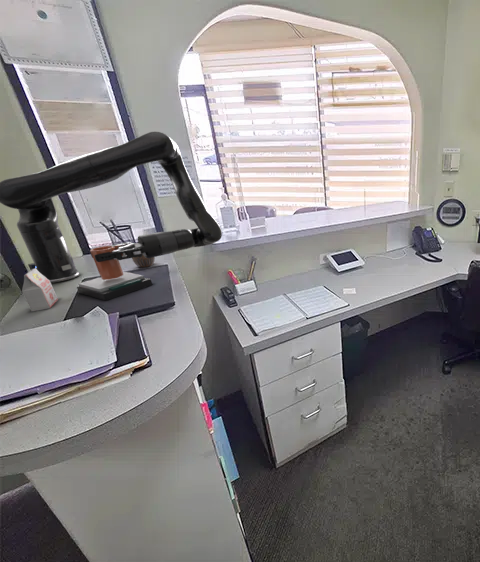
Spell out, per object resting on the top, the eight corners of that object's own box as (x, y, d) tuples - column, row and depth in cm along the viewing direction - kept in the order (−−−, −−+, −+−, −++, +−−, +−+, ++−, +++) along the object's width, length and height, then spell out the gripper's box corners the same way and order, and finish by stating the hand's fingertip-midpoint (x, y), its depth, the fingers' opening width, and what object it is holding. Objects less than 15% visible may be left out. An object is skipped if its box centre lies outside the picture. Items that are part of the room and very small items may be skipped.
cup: (97, 278, 94) (86, 249, 91) (117, 272, 99) (107, 245, 95) (107, 280, 92) (96, 251, 88) (127, 274, 96) (117, 246, 93)
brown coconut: (145, 269, 114) (138, 246, 111) (130, 268, 116) (122, 245, 112) (161, 263, 121) (154, 241, 117) (146, 262, 122) (139, 240, 119)
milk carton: (31, 311, 83) (14, 276, 79) (40, 302, 88) (25, 269, 85) (50, 307, 85) (34, 273, 81) (58, 299, 90) (43, 267, 86)
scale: (78, 293, 94) (75, 283, 93) (125, 278, 105) (122, 270, 104) (105, 300, 88) (102, 291, 87) (152, 284, 99) (149, 275, 98)
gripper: (148, 230, 106) (83, 241, 94) (162, 235, 97) (93, 248, 85) (154, 251, 108) (93, 264, 96) (169, 258, 100) (103, 273, 88)
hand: (93, 256), depth 91 cm, fingers closed on cup, 5 cm apart
